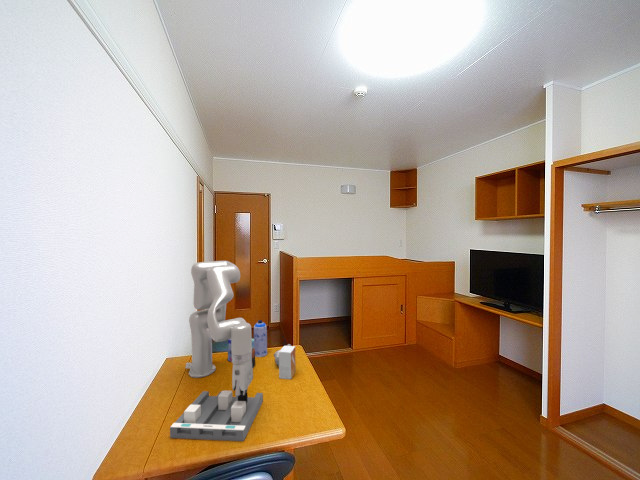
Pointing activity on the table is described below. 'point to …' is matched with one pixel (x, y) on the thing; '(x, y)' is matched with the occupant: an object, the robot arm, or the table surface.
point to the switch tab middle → (224, 400)
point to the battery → (253, 358)
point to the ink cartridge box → (229, 351)
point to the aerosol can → (260, 339)
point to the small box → (287, 362)
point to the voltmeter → (278, 353)
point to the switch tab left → (192, 413)
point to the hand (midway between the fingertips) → (242, 403)
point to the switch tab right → (238, 411)
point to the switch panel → (217, 420)
